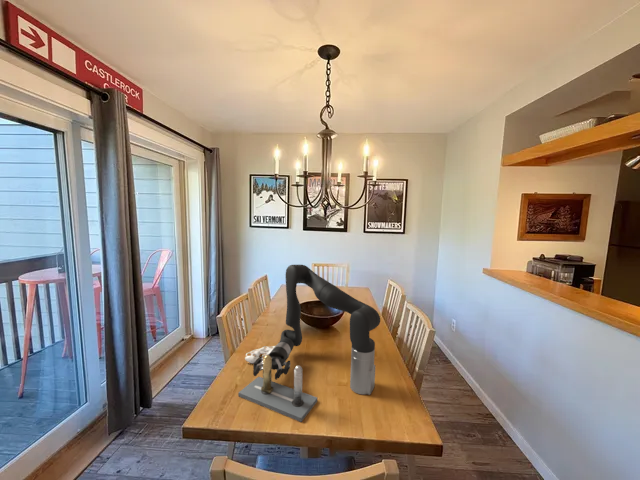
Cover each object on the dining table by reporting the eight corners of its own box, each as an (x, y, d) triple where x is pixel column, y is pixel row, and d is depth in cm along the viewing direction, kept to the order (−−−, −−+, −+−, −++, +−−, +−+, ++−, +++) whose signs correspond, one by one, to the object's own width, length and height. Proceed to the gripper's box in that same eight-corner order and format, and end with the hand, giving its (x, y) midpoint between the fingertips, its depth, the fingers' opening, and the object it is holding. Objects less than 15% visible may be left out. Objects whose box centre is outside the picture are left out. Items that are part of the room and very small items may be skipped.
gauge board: (317, 401, 107) (317, 397, 107) (301, 422, 96) (301, 417, 96) (258, 379, 119) (258, 376, 119) (238, 396, 109) (238, 392, 109)
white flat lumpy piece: (266, 347, 150) (265, 339, 150) (288, 352, 143) (288, 344, 143) (239, 363, 133) (239, 354, 133) (263, 369, 126) (262, 360, 126)
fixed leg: (303, 401, 104) (304, 365, 103) (299, 406, 102) (299, 369, 100) (296, 399, 106) (296, 362, 104) (292, 403, 103) (292, 366, 101)
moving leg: (273, 389, 110) (274, 354, 109) (268, 394, 108) (268, 358, 106) (265, 386, 112) (265, 352, 111) (260, 390, 109) (260, 355, 108)
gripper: (264, 344, 124) (247, 363, 108) (295, 348, 121) (283, 368, 105) (264, 360, 125) (247, 382, 109) (295, 364, 122) (282, 387, 106)
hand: (265, 375), depth 107 cm, fingers open, 8 cm apart
